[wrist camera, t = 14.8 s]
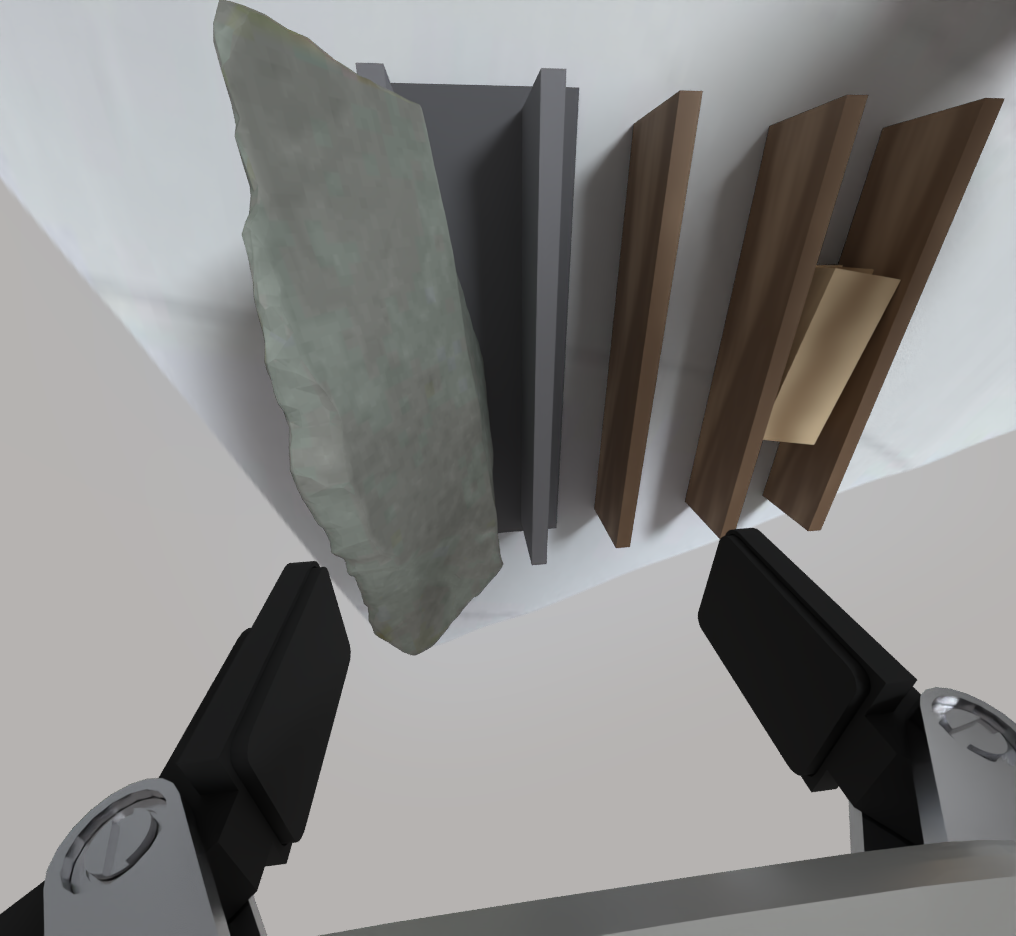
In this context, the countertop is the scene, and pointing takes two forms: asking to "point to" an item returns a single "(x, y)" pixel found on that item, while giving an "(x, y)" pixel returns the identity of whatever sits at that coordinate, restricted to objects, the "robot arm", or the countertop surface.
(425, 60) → the countertop surface
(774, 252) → the walnut rack
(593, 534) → the countertop surface
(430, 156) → the rock
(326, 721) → the robot arm
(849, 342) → the offcut
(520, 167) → the slab stand
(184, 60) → the countertop surface
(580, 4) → the countertop surface
